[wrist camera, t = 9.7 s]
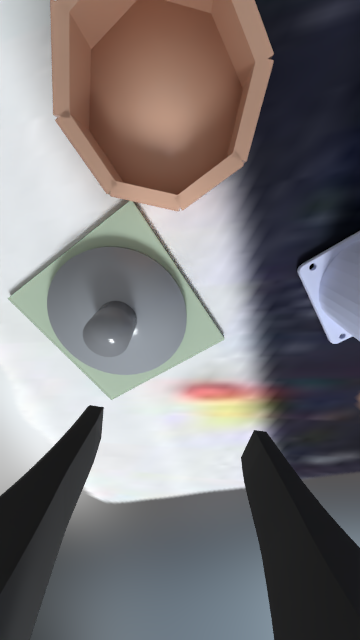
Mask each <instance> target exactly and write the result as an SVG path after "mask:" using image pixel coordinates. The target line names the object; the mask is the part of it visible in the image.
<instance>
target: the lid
mask: <svg viewBox="0 0 360 640" xmlns="http://www.w3.org/2000/svg"><path fill="white" fill-rule="evenodd" d="M47 311H48V317H49V320H50V324H51V326H52V329H53V331H54V333H55V334H56V336H57V338H58V339H59V341H60V342H61V344H62V345H63V346H64V347H65V348H66V349H67V350H68V351H69V352H70V353H71V354H72V355H73V356H74V357H75V358H77V359H78V360H80V361H81V362H83V363H84V364H86V365H88V366H90V367H92V368H94V369H97V370H100V371H103V372H106V373H111V374H118V375H133V374H140V373H144V372H147V371H150V370H153V369H155V368H157V367H159V366H160V365H162V364H164V363H165V362H166V361H167V360H169V359H170V358H171V357H172V356H173V355H174V353H175V352H176V351H177V349H178V348H179V346H180V344H181V342H182V340H183V338H184V334H185V331H186V324H187V311H186V304H185V300H184V296H183V294H182V291H181V289H180V287H179V285H178V284H177V282H176V280H175V279H174V278H173V276H172V275H171V274H170V272H169V271H168V270H167V269H166V268H165V267H164V266H163V265H161V264H160V263H159V262H157V261H156V260H155V259H153V258H151V257H150V256H148V255H146V254H144V253H142V252H139V251H137V250H133V249H130V248H126V247H119V246H104V247H97V248H93V249H90V250H87V251H84V252H82V253H80V254H78V255H76V256H74V257H72V258H71V259H69V260H68V261H67V262H66V263H65V264H63V265H62V266H61V267H60V269H59V270H58V271H57V273H56V274H55V276H54V278H53V279H52V281H51V284H50V287H49V290H48V296H47Z"/></svg>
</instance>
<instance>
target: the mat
mask: <svg viewBox="0 0 360 640" xmlns="http://www.w3.org/2000/svg"><path fill="white" fill-rule="evenodd" d="M104 246H119V247H126V248H130V249H133V250H137V251H139V252H142V253H144V254H146V255H148V256H150V257H151V258H153V259H155V260H156V261H157V262H159V263H160V264H161V265H163V266H164V267H165V268H166V269H167V270H168V271H169V272H170V274H171V275H172V276H173V278H174V279H175V280H176V282H177V284H178V285H179V287H180V289H181V291H182V294H183V296H184V300H185V304H186V311H187V324H186V331H185V334H184V338H183V340H182V342H181V344H180V346H179V348H178V349H177V351H176V352H175V353H174V355H173V356H172V357H171V358H170V359H169V360H167V361H166V362H165V363H164V364H162V365H160V366H159V367H157V368H155V369H153V370H150V371H147V372H144V373H140V374H133V375H118V374H111V373H106V372H103V371H100V370H97V369H94V368H92V367H90V366H88V365H86V364H84V363H83V362H81V361H80V360H78V359H77V358H75V357H74V356H73V355H72V354H71V353H70V352H69V351H68V350H67V349H66V348H65V347H64V346H63V345H62V344H61V342H60V341H59V339H58V338H57V336H56V334H55V333H54V331H53V329H52V326H51V324H50V320H49V317H48V311H47V296H48V290H49V287H50V284H51V281H52V279H53V278H54V276H55V274H56V273H57V271H58V270H59V269H60V267H61V266H62V265H63V264H65V263H66V262H67V261H68V260H69V259H71V258H72V257H74V256H76V255H78V254H80V253H82V252H84V251H87V250H90V249H93V248H97V247H104ZM8 300H10V301H11V302H12V303H13V304H14V305H15V306H16V307H17V308H18V309H19V310H20V311H21V312H22V313H23V314H24V315H25V316H26V317H27V318H28V319H29V320H30V321H31V322H32V323H33V324H34V325H35V326H36V327H37V328H38V329H39V330H40V331H41V332H42V333H43V334H44V335H45V336H46V337H47V338H48V339H49V340H51V341H52V342H53V343H54V344H55V345H56V346H57V347H58V348H59V349H60V350H61V351H62V352H63V353H64V354H65V355H66V356H67V357H68V358H69V359H70V360H71V361H72V362H73V363H74V364H75V365H76V366H77V367H78V368H79V369H80V370H81V371H82V372H83V373H84V374H85V375H86V376H87V377H88V378H89V379H90V380H92V381H93V382H94V383H95V384H96V385H97V386H98V387H99V388H100V389H101V390H102V391H103V392H104V393H105V394H106V395H107V396H108V397H109V398H110V399H111V400H112V399H114V398H116V397H118V396H120V395H122V394H124V393H125V392H127V391H129V390H131V389H133V388H135V387H137V386H139V385H140V384H142V383H144V382H146V381H148V380H150V379H152V378H153V377H155V376H157V375H159V374H161V373H163V372H165V371H167V370H168V369H170V368H172V367H174V366H176V365H178V364H180V363H181V362H183V361H185V360H187V359H189V358H191V357H193V356H195V355H196V354H198V353H200V352H202V351H204V350H206V349H208V348H209V347H211V346H213V345H215V344H217V343H219V342H221V341H223V340H224V337H223V335H222V334H221V332H220V331H219V329H218V328H217V326H216V325H215V323H214V322H213V320H212V319H211V317H210V316H209V314H208V313H207V311H206V310H205V308H204V307H203V305H202V304H201V302H200V301H199V299H198V298H197V296H196V295H195V293H194V292H193V290H192V289H191V287H190V286H189V284H188V283H187V281H186V280H185V278H184V277H183V275H182V274H181V272H180V271H179V269H178V268H177V266H176V265H175V263H174V262H173V260H172V259H171V257H170V256H169V254H168V253H167V251H166V250H165V248H164V247H163V245H162V244H161V242H160V241H159V239H158V238H157V236H156V235H155V233H154V232H153V230H152V229H151V227H150V226H149V224H148V223H147V221H146V220H145V218H144V217H143V215H142V214H141V212H140V211H139V209H138V208H137V206H136V205H135V203H134V202H133V201H129V202H128V203H126V204H125V205H124V206H123V207H121V208H120V209H119V210H118V211H116V212H115V213H114V214H113V215H111V216H110V217H109V218H108V219H106V220H105V221H104V222H103V223H101V224H100V225H99V226H98V227H96V228H95V229H94V230H93V231H91V232H90V233H89V234H88V235H86V236H85V237H84V238H83V239H81V240H80V241H79V242H78V243H76V244H75V245H74V246H73V247H71V248H70V249H69V250H68V251H66V252H65V253H64V254H63V255H61V256H60V257H59V258H58V259H56V260H55V261H54V262H53V263H51V264H50V265H49V266H48V267H46V268H45V269H44V270H43V271H41V272H40V273H39V274H38V275H36V276H35V277H34V278H33V279H31V280H30V281H29V282H28V283H26V284H25V285H24V286H23V287H21V288H20V289H19V290H18V291H16V292H15V293H14V294H13V295H11V296H10V297H9V298H8Z"/></svg>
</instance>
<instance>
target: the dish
mask: <svg viewBox="0 0 360 640" xmlns="http://www.w3.org/2000/svg"><path fill="white" fill-rule="evenodd" d="M50 10H51V48H52V86H53V115H54V116H56V117H57V119H56V120H55V121H56V122H57V124H58V125H59V127H60V128H61V129H62V131H63V132H64V134H65V135H66V137H67V138H68V139H69V141H70V142H71V144H72V145H73V147H74V148H75V149H76V151H77V152H78V154H79V155H80V157H81V158H82V159H83V161H84V162H85V164H86V165H87V167H88V168H89V169H90V171H91V172H92V174H93V175H94V177H95V178H96V179H97V181H98V182H99V184H100V185H101V186H102V188H103V189H104V191H105V192H106V194H110V196H111V197H116V198H120V199H125V200H129V201H134V202H138V203H143V204H147V205H152V206H156V207H161V208H165V209H170V210H174V211H180V208H181V209H182V211H183V210H184V209H186V208H187V207H188V206H190V205H191V204H192V203H194V202H195V201H196V200H198V199H199V198H201V197H202V196H203V195H205V194H206V193H207V192H209V191H210V190H211V189H213V188H214V187H216V186H217V185H218V184H220V183H221V182H222V181H224V180H225V179H226V178H228V177H229V176H231V175H232V174H233V173H235V172H236V171H237V170H239V169H240V168H241V167H242V166H244V165H243V164H244V163H245V162H246V161H247V158H248V154H249V150H250V147H251V143H252V139H253V136H254V132H255V128H256V125H257V121H258V117H259V114H260V110H261V106H262V103H263V99H264V95H265V91H266V88H267V84H268V80H269V77H270V73H271V69H272V66H273V62H274V60H271V58H272V56H273V54H274V53H273V50H272V47H271V44H270V42H269V39H268V36H267V33H266V30H265V28H264V25H263V22H262V19H261V17H260V14H259V11H258V8H257V5H256V3H255V0H57V1H54V0H50Z"/></svg>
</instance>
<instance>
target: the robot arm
mask: <svg viewBox="0 0 360 640" xmlns="http://www.w3.org/2000/svg"><path fill="white" fill-rule="evenodd" d="M313 263H314V267H313V268H312V269H309V266H310V265H311V264H313ZM297 271H298V274H299V277H300V279H301V281H302V283H303V285H304V288H305V290H306V292H307V294H308V296H309V298H310V301H311V303H312V305H313V307H314V309H315V312H316V314H317V316H318V318H319V320H320V323H321V325H322V327H323V329H324V331H325V333H326V336H327V338H328V340H329V341H330V342H331V343H333V344H337V343H339V342H341V341H344V340H346V339H348V338H350V337H352V336H353V337H355V338H356V339H357V340H359V341H360V231H358V232H357V233H355V234H353V235H351V236H350V237H348V238H346V239H344V240H343V241H341V242H339V243H338V244H336V245H334V246H332V247H331V248H329V249H327V250H325V251H324V252H322V253H320V254H318V255H317V256H315V257H313V258H311V259H310V260H308V261H306V262H304V263H303V264H301V265H300V266H299V267H298V270H297ZM341 334H343V335H342V336H340V335H341ZM339 336H340V337H339ZM103 409H104V407H98V406H91V405H90V406H88V407H87V408H86V410H85V411H84V412H83V413H82V415H81V416H80V417H79V418H78V420H77V421H76V422H75V423H74V424H73V426H72V427H71V428H70V429H69V430H68V431H67V432H66V433H65V435H64V436H63V437H62V438H61V439H60V440H59V441H58V442H57V443H56V444H55V445H54V446H53V447H52V448H51V450H50V451H48V453H46V454H45V455H44V457H43V458H41V459H40V460H39V461H38V462H37V463H36V464H35V465H34V466H33V467H32V468H31V469H30V470H29V471H28V472H27V473H26V474H25V475H24V476H23V477H21V478H20V479H19V480H18V481H17V482H16V483H15V484H14V485H12V486H11V487H10V488H9V489H8V490H7V491H6V492H5V493H3V494H2V495H1V496H0V640H30V638H31V635H32V632H33V628H34V625H35V622H36V619H37V616H38V613H39V610H40V607H41V603H42V600H43V597H44V594H45V591H46V587H47V585H48V582H49V579H50V576H51V572H52V569H53V566H54V563H55V560H56V557H57V554H58V551H59V548H60V545H61V542H62V539H63V536H64V533H65V531H66V528H67V525H68V523H69V520H70V518H71V515H72V513H73V511H74V508H75V506H76V503H77V501H78V498H79V496H80V494H81V491H82V489H83V487H84V484H85V482H86V479H87V477H88V475H89V472H90V470H91V467H92V465H93V462H94V459H95V456H96V453H97V450H98V446H99V443H100V440H101V433H102V421H103ZM241 461H242V470H243V477H244V483H245V487H246V491H247V496H248V500H249V504H250V508H251V512H252V516H253V520H254V524H255V528H256V532H257V536H258V540H259V544H260V550H261V554H262V559H263V566H264V572H265V578H266V584H267V591H268V597H269V604H270V611H271V617H272V625H273V633H274V640H360V548H359V547H358V546H357V544H356V543H355V542H354V541H353V540H352V539H351V538H350V537H349V536H348V535H347V534H346V533H345V531H344V530H343V529H342V528H340V526H339V525H338V524H337V523H336V521H335V520H334V519H333V518H332V517H331V516H330V515H329V514H328V513H327V511H326V510H325V509H324V508H323V506H322V505H321V504H320V503H319V501H318V500H317V499H316V498H315V497H314V495H313V494H312V493H311V492H310V490H309V489H308V488H307V487H306V485H305V484H304V483H303V481H302V480H301V479H300V477H299V476H298V475H297V473H296V472H295V471H294V469H293V468H292V467H291V465H290V464H289V463H288V461H287V460H286V459H285V457H284V456H283V454H282V453H281V452H280V450H279V449H278V447H277V446H276V445H275V443H274V442H273V440H272V439H271V438H270V436H269V435H268V434H267V432H263V431H256V430H254V432H253V434H252V436H251V438H250V440H249V442H248V444H247V446H246V448H245V450H244V453H243V455H242V457H241Z"/></svg>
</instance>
